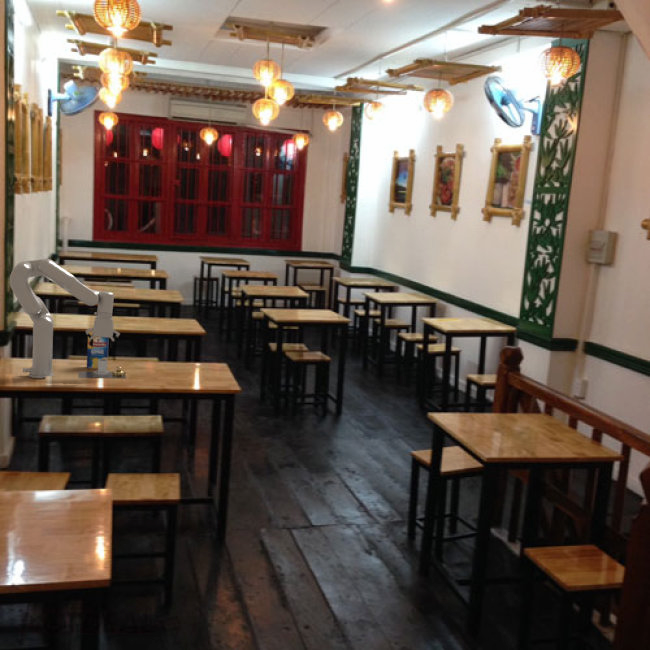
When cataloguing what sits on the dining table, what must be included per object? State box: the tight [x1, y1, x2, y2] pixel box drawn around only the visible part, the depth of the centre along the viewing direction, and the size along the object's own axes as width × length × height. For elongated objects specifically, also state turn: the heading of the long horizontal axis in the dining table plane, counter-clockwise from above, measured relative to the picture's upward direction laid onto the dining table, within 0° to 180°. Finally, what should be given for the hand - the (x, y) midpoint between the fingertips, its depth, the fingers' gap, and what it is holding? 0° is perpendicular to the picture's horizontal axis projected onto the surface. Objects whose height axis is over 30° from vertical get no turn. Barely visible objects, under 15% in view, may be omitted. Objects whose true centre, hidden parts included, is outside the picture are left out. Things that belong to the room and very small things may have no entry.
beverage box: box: [86, 331, 110, 369], centre depth 426 cm, size 7×11×22 cm, turn 104°
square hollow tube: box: [93, 359, 111, 377], centre depth 407 cm, size 8×8×8 cm
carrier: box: [77, 366, 127, 380], centre depth 408 cm, size 24×16×6 cm, turn 108°
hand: (101, 347), depth 406 cm, fingers open, 9 cm apart
